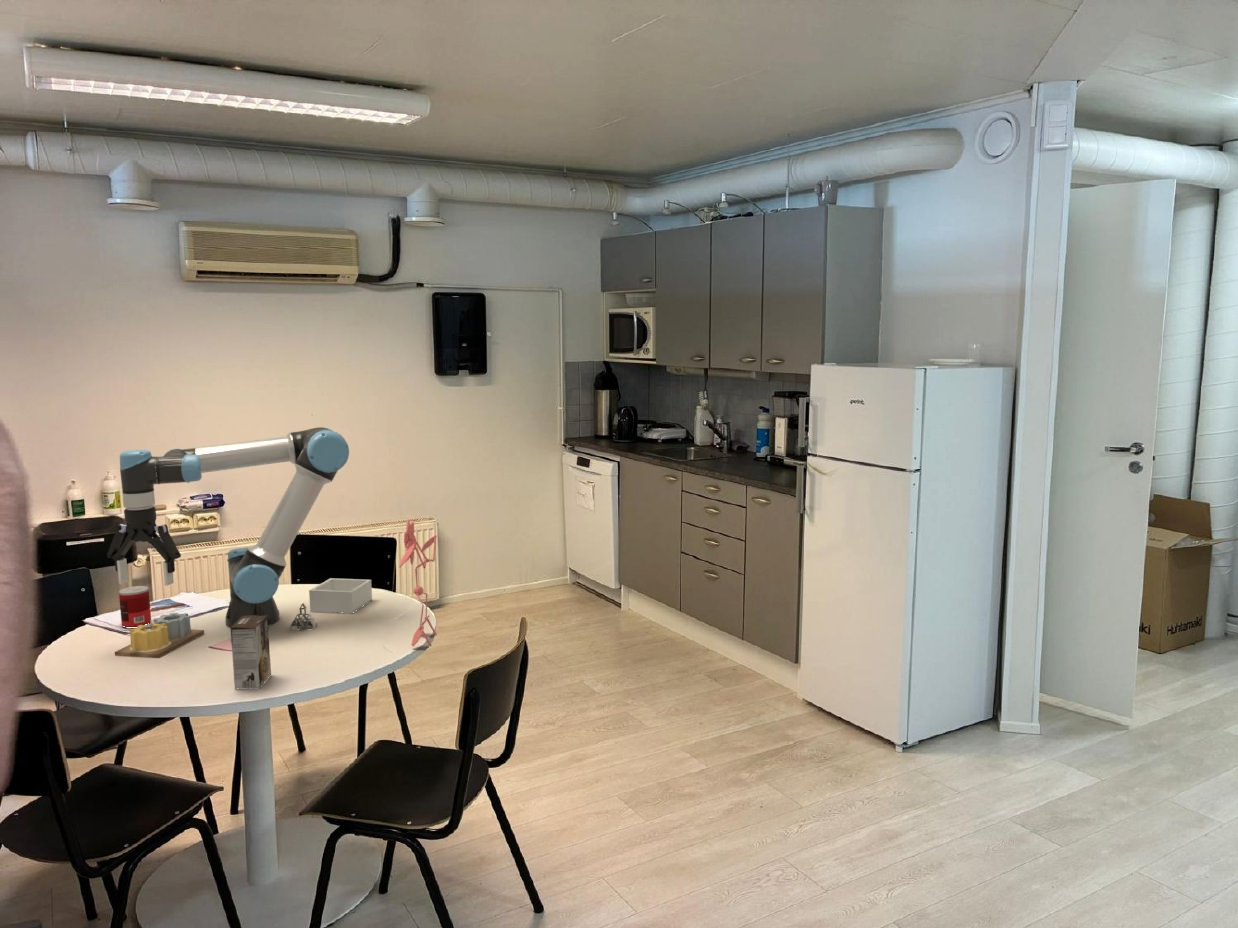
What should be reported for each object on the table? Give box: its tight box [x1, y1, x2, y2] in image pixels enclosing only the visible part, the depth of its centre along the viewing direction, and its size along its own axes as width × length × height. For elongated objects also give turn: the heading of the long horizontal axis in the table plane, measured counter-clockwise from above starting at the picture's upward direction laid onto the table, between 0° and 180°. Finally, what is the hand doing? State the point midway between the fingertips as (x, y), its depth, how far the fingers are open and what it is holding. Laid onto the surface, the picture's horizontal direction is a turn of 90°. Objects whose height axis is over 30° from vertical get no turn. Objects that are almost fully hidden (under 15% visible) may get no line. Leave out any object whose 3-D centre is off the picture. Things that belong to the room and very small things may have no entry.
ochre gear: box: [129, 622, 169, 652], centre depth 240 cm, size 9×9×5 cm
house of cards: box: [289, 603, 319, 631], centre depth 257 cm, size 9×9×8 cm
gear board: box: [114, 629, 205, 659], centre depth 245 cm, size 13×20×1 cm, turn 172°
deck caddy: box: [308, 577, 373, 614], centre depth 280 cm, size 14×14×7 cm
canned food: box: [118, 585, 152, 627], centre depth 262 cm, size 8×8×11 cm
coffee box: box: [230, 615, 272, 690], centre depth 216 cm, size 9×6×16 cm
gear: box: [153, 612, 192, 640], centre depth 250 cm, size 9×9×6 cm
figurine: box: [398, 519, 443, 647], centre depth 245 cm, size 15×26×35 cm, turn 2°
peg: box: [144, 623, 154, 631], centre depth 240 cm, size 2×2×6 cm
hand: (146, 583), depth 238 cm, fingers open, 13 cm apart
